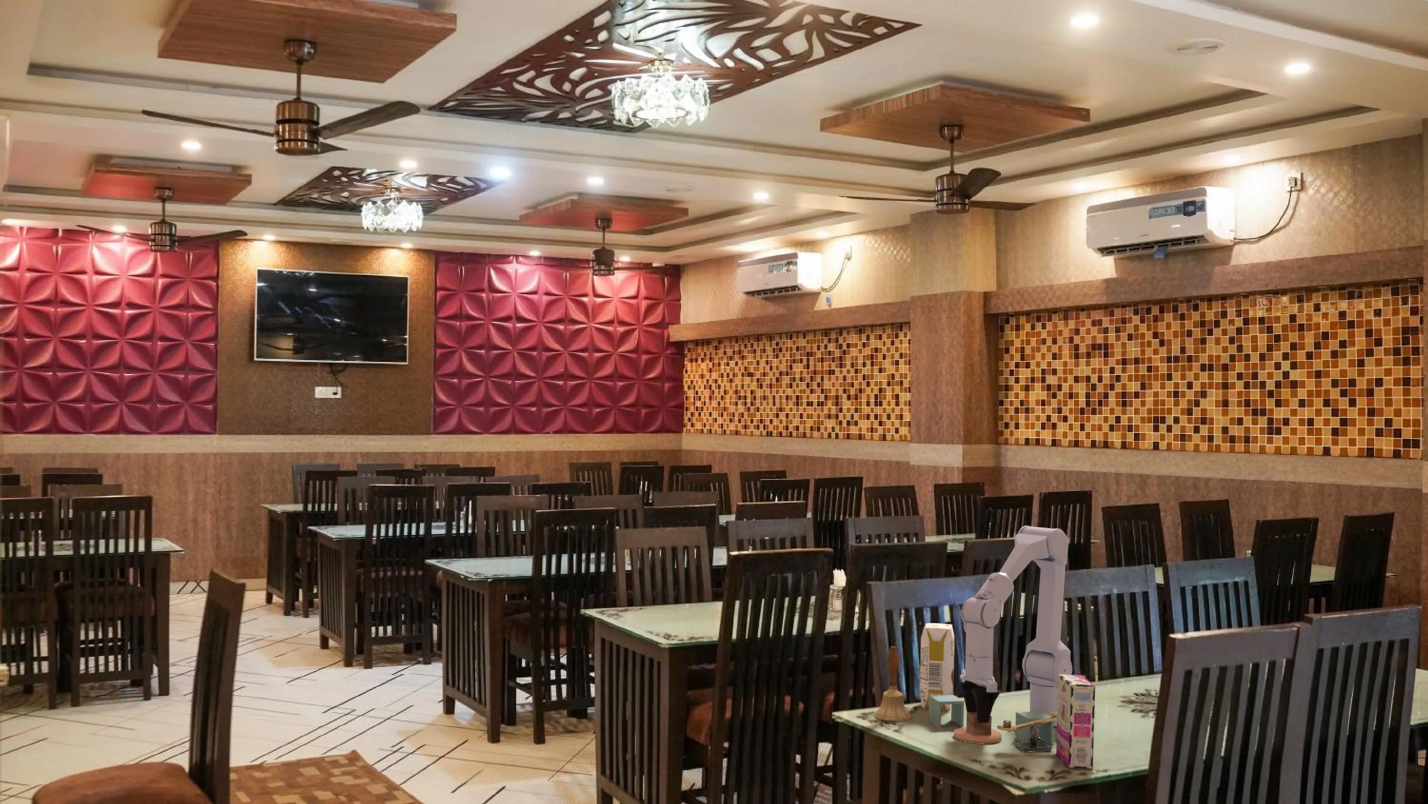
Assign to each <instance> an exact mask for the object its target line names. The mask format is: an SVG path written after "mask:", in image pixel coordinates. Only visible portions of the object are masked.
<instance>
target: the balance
mask: <svg viewBox="0 0 1428 804" xmlns="http://www.w3.org/2000/svg"><path fill="white" fill-rule="evenodd" d="M1051 715H1052V717H1048V718H1044V719H1040V720H1036V721H1032V722H1028V723H1024V724H1020V725H1016V724H1015V725H1016V726H1015V725H1013V724H1012V721H1011V720H1008V719H1007V720H1003V722H1002V724H999V725H996V727H997V728H996V729H997V730H1000V731H1005V732H1009V733H1011V732H1015V731H1016V730H1019V729H1022V728H1026V727H1030V743H1022V742H1016V743H1015V748H1017V749H1018V748H1019V750H1020V749H1021V750H1020V751H1022V752H1023V751H1024V752H1023V753H1030V752H1029V751H1032V752H1031V753H1034V752H1033V751H1043V752H1052V746H1050V745H1049V744H1048V743H1047V744H1046V742H1038V728H1039V727H1038V724H1042V723H1046V722H1050V721H1054V720H1057V711H1054V712H1051Z"/></svg>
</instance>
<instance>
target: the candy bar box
mask: <svg viewBox="0 0 1428 804" xmlns="http://www.w3.org/2000/svg"><path fill="white" fill-rule="evenodd" d="M1095 709H1096V685H1094V684H1093V683H1092V682H1091V681H1089V679H1086V678H1085V677H1084V676H1083V675H1081V674H1071V675H1068V674H1058V703H1057V726H1056V740H1055V741H1056V742H1055V743H1056V745H1055V746H1056V748H1055V755H1056V756H1057V757H1058V758H1059V759H1060V760H1061V761H1062V762H1063V763H1064V764H1065V765H1066V767H1067V768H1069V769H1073V770H1075V769H1076V770H1093V769H1094V745H1095V744H1094V739H1095V737H1094V736H1095V711H1096V710H1095Z"/></svg>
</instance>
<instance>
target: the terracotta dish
mask: <svg viewBox="0 0 1428 804" xmlns="http://www.w3.org/2000/svg"><path fill="white" fill-rule="evenodd" d="M1002 736H1003V734H1002V733H1001V732H1000V731H997V730H994V729H991V735H982V736H973V735H972V734H970V733H969V732H967V731H966V726H965V727H959V728H956V729H954V730H953V738H954V737H955V738H954V739H956V740H957V739H959V740H958V741H960V740H962V741H961V742H964V741H966V742H965V743H968V742H972V743H971V744H976V743H979V744H980V743H982V744H980V745H991V744H992V743H993V744H998V743H1001V742H1002V741H1003V740H1002V739H1003V737H1002ZM997 742H998V743H997ZM983 743H984V744H983ZM979 744H978V745H979Z"/></svg>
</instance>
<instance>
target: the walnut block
mask: <svg viewBox="0 0 1428 804" xmlns="http://www.w3.org/2000/svg"><path fill="white" fill-rule="evenodd" d="M992 717H993V716H992V715H990V719H989V722H988V723H979V722H978V719H977V712H967V711H966V719H965V720H966V724H965V725H966V726H965V727H966V731H967V732H969V733H970V734H972V735H973V736H982V735H991V730H992V723H993V722H992V721H993V720H992Z"/></svg>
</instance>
